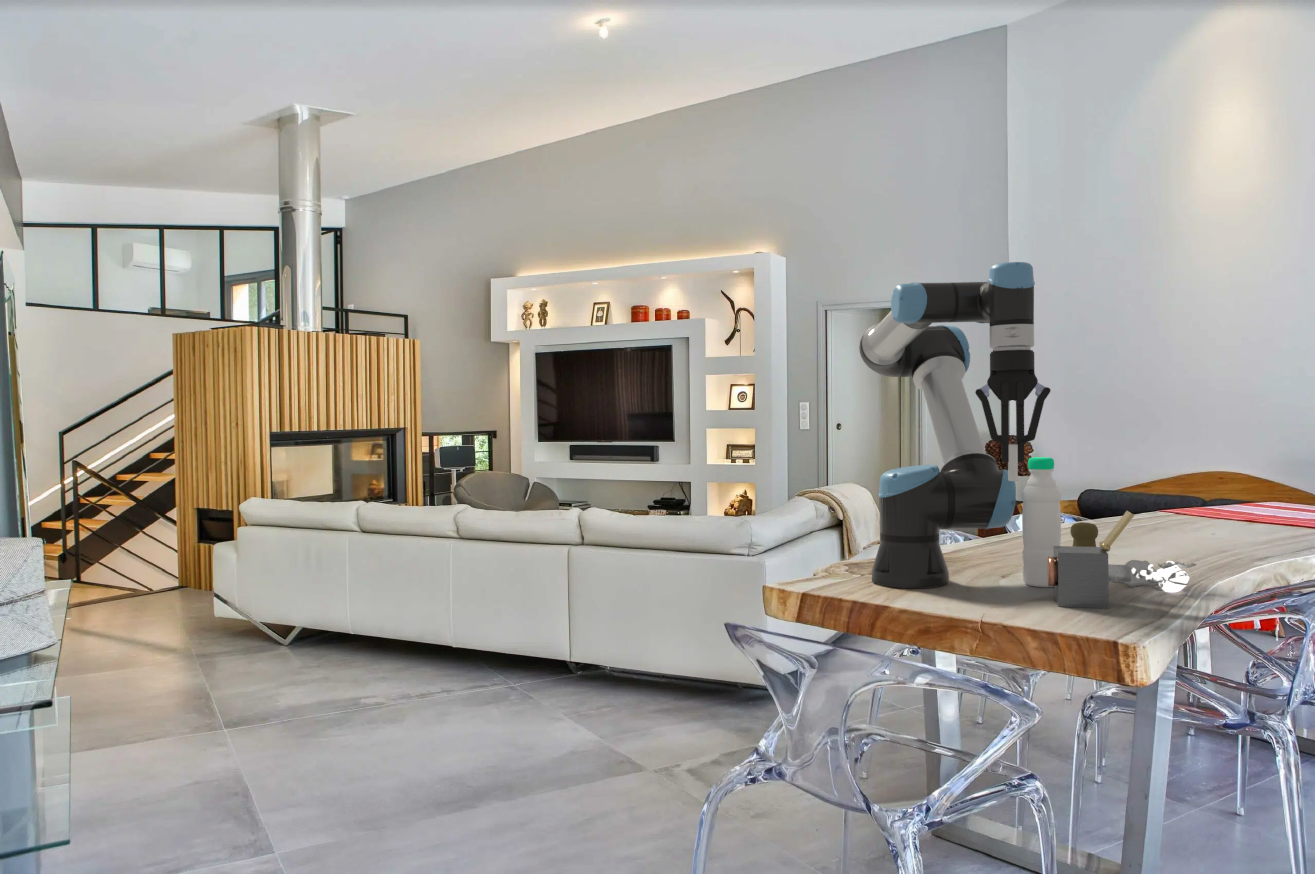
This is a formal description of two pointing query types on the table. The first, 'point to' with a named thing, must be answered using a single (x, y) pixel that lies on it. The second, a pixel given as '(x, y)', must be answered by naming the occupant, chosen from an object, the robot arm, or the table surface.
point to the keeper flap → (1116, 531)
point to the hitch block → (1081, 577)
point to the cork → (1084, 534)
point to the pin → (1114, 572)
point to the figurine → (1159, 575)
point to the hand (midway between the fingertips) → (1013, 480)
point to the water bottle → (1040, 521)
